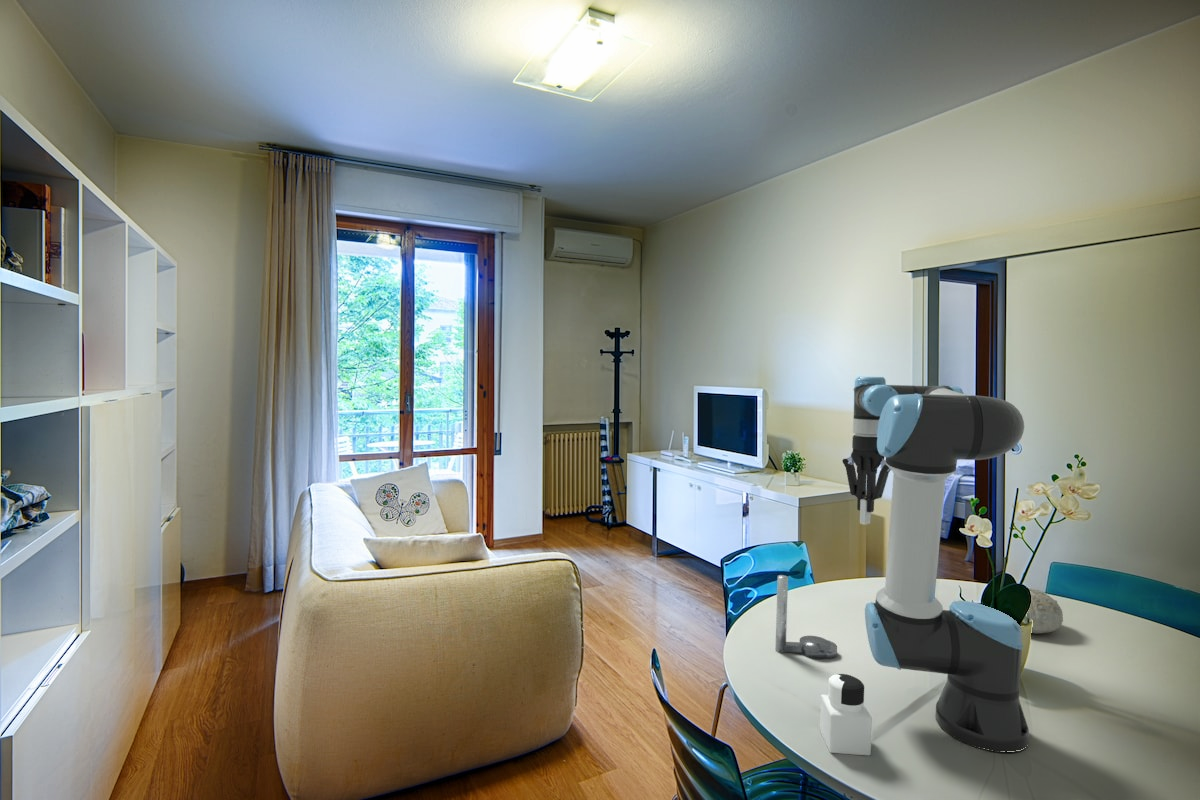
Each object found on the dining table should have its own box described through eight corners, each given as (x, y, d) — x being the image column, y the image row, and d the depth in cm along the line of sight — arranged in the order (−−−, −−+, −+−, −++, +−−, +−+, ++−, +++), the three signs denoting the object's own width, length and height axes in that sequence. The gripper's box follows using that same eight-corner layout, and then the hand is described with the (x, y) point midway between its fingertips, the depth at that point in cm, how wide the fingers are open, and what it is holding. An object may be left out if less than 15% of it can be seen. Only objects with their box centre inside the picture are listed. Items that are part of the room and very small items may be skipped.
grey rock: (979, 627, 162) (980, 591, 161) (985, 607, 176) (986, 574, 176) (1062, 646, 151) (1064, 607, 151) (1061, 623, 165) (1063, 588, 165)
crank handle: (831, 646, 146) (834, 574, 145) (840, 660, 139) (843, 584, 138) (772, 643, 147) (774, 571, 146) (778, 657, 140) (780, 581, 139)
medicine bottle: (858, 732, 113) (860, 670, 113) (871, 756, 106) (873, 690, 106) (819, 729, 114) (821, 668, 114) (829, 753, 107) (831, 688, 106)
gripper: (899, 436, 155) (896, 526, 156) (852, 432, 165) (849, 516, 166) (885, 438, 150) (882, 531, 152) (837, 433, 161) (834, 520, 162)
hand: (864, 523), depth 159 cm, fingers closed
